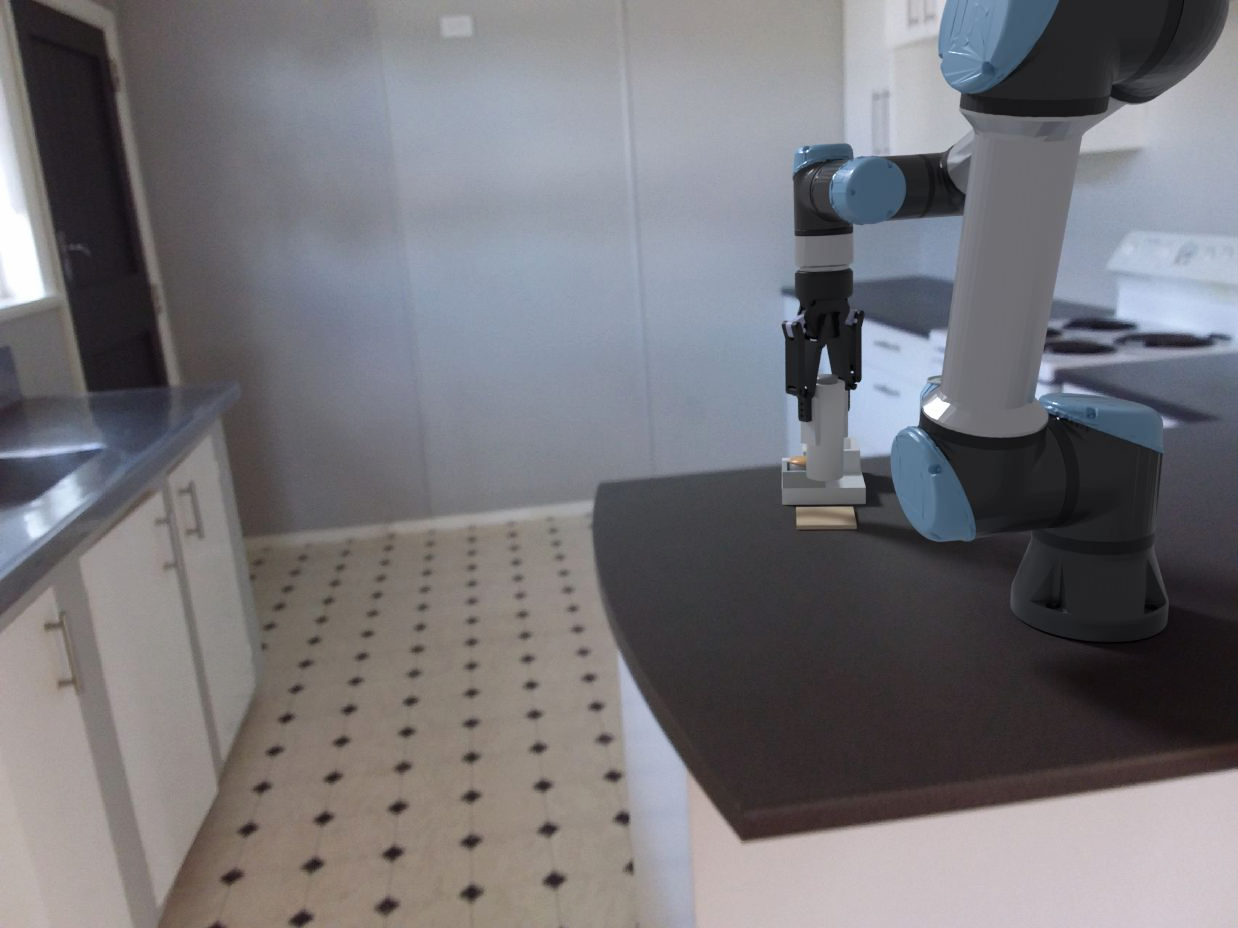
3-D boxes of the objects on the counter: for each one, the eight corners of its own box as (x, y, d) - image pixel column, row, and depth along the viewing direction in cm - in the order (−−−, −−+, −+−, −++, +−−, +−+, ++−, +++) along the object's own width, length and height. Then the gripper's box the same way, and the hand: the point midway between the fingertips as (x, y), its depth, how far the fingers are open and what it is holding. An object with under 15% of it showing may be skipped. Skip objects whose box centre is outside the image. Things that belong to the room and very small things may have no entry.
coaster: (856, 529, 136) (856, 525, 136) (796, 529, 137) (796, 525, 137) (852, 510, 144) (852, 506, 144) (796, 511, 145) (796, 507, 145)
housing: (865, 503, 146) (865, 464, 145) (782, 504, 148) (781, 465, 147) (857, 471, 162) (857, 435, 161) (782, 472, 164) (781, 437, 163)
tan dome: (817, 482, 148) (817, 462, 147) (790, 482, 148) (789, 463, 148) (816, 474, 151) (816, 455, 151) (789, 475, 152) (789, 456, 151)
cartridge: (850, 475, 139) (852, 375, 135) (827, 483, 136) (828, 382, 132) (822, 468, 142) (823, 371, 138) (798, 476, 139) (799, 377, 135)
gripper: (848, 260, 139) (848, 423, 146) (753, 273, 129) (757, 448, 136) (891, 262, 133) (889, 432, 140) (795, 275, 123) (797, 458, 130)
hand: (824, 439), depth 138 cm, fingers closed on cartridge, 5 cm apart
